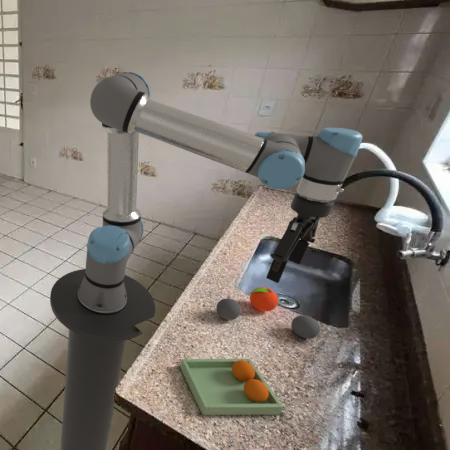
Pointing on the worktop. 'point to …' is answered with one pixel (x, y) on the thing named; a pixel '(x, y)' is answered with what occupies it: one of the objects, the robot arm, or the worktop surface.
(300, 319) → the grey ball
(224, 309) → the grey ball
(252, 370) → the orange ball
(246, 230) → the worktop surface
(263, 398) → the orange ball
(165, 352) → the worktop surface
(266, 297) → the clementine
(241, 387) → the tray
